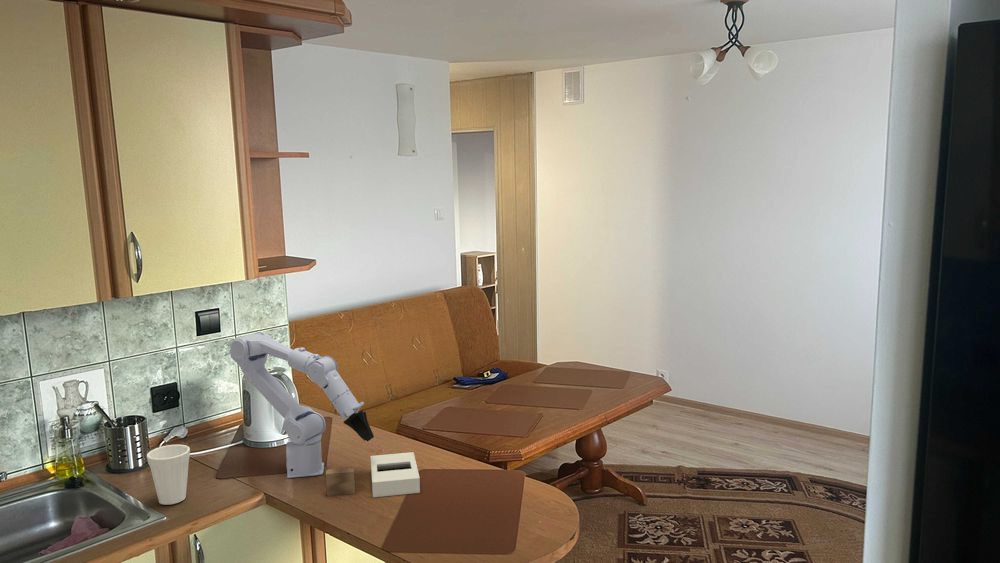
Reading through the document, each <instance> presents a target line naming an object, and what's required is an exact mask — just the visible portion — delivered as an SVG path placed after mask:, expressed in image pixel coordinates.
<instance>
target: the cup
mask: <svg viewBox="0 0 1000 563" xmlns="http://www.w3.org/2000/svg"><path fill="white" fill-rule="evenodd" d="M190 454H191V448H190V446H188V445H186V444H168V445H163V446H159V447H156V448H154V449H151V450H149V452H147V454H146V460H147V463H148V465H149V467H150V471H151V475H152V479H153V484H154V488H155V492H156V496H157V499H158V503H159V504H160V505H174V504H178V503H180V502H182V501H184V500H185V499H186V496H187V487H188V473H189V461H190V458H191V455H190Z"/></svg>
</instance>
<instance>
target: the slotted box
mask: <svg viewBox="0 0 1000 563" xmlns="http://www.w3.org/2000/svg"><path fill="white" fill-rule="evenodd" d="M400 468H403V469H400ZM389 469H390V470H389ZM393 469H394V470H393ZM380 470H383V471H380ZM370 473H371V490H372V498H380V497H390V496H398V495H399V496H400V495H410V494H420V493H421V486H420V485H421V483H420V480H421V478H420V474H419V469H418V466H417V462H416V457H415V452H412V451H411V452H410V451H409V452H402V453H401V452H400V453H388V454H379V455H378V454H377V455H370Z"/></svg>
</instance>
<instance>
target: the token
mask: <svg viewBox="0 0 1000 563" xmlns="http://www.w3.org/2000/svg"><path fill="white" fill-rule="evenodd" d="M325 479H326V480H325V481H326V496H327V497H334V496H344V495H353V494H356V488H355V487H356V486H355V484H356V482H355V467H354V466H352V467H340V468H339V467H338V468H329V469H326V471H325Z"/></svg>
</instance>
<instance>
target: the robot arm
mask: <svg viewBox="0 0 1000 563" xmlns="http://www.w3.org/2000/svg"><path fill="white" fill-rule="evenodd" d="M229 350H230V351H229V353H230V354H229V355H230V358H231V359H232V360H233V361H234V362H235V363H236V365H238V366H239V368H240V369H241V372H242V374H243V375H244V377H245V379H247V380H248V381H249V382H250V384H251V385H252V386H253V387H254V388H255V389H256V390H257V392H259V393H260V394H261V396H263V397H264V398H265V400H267V402H268V403H269V404H270V405H271V406H272V407H273V408H274V410H276V411H277V413H278V414H280V415H281V417H282V418H283V419H284V421H283V424H282V429H283V430H284V431H285V432H286V434H287V436H288V438H289V441H287V442H286V448H285V453H286V454H285V456H286V464H285V465H286V466H285V467H286V474H287V475H286V478H287V479H291V478H303V477H304V478H305V477H313V476H322V475H323V474H324V468H325V462H323V460H322V457H323V456H322V442H321V441H322V438H323V433H324V432H325V431H326V428H327V427H326V420H325V418H324V416H323V415H322V414H321V413H319V412H316V411H315V410H313V409H312V407H309V406H303V405H301V404H300V403H299V402H298V401H297V400H296V399H295V398H294V397H293V396H292V395H291V394H290V393H289V392H288V391H287V389H285V387H284V386H282V384H281V383H280V382H279V381H278V379H276V378H275V377H274V376H273V375H272V373H270V371H269V370H267V368H266V367H265V366H266V365H265V364H266V363H267V362H268V361H267V359H268V356H271V357H274V358H278V359H280V360H282V361H286V362H287V364H288V367H289V368H292V369H293V370H296V371H299V372H301V373H303V374H305V375H307V376H309V377H308V379H309V380H310V381H311V382H313V383H315V384H316V385H317V386H318V388H320V389H322V390H323V392H324V394H325V395H326V396H327V398H328V399H329V401H330V402H331V404H332V406H333V408H334V409H335V410H336V411H337V412H338V415H339V416H340V419H341V420H344V421H343V424H344V425H347V426H348V427H349V428H350V429H352V430H353V431H354V432H355V433H356V434H357V435H358V436H359V438H361V439H362V440H363V441H364V442H365V441H366V442H369V441H371V440H372V439H373V438H375V436H374V433H373V431H372V429H371V426H370V424H369V421H368V417H367V416H368V415H367V412H366V411H364V410H363V409H362V410H360V409H361V408H362V406H364V405H365V402H364V401H361V402H359V401H358V400H357V398H356V397H355V395H354V394H353V392H352V391H351V389H350V388H349V386H348V385H347V384H346V382H345V381H344V379H343V378H342V377H341V375H340V373H339V372H338V369H339V368H338V363H337V361H336V360H335V358H333V357H332V356H330V355H324V356H320V354H318V353H312V352H311V351H307V350H306V348H305V347H296V348H294V349H292V348H290V347H288V346H287V345H284V344H283V343H281V342H279V341H278V340H277V341H276V340H275V339H273V338H272V337H271V335H270V334H266V333H264V332H262V331H258V332H255V333H252V334H249V335H246V336H240V337H236V338H234V339H233V340H232V341H231V342H230V347H229Z"/></svg>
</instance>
